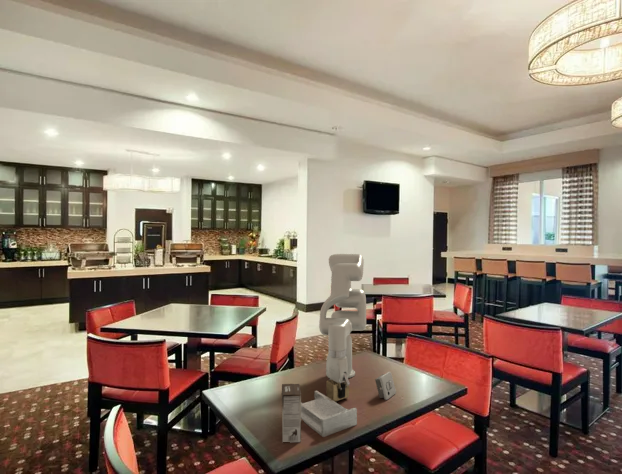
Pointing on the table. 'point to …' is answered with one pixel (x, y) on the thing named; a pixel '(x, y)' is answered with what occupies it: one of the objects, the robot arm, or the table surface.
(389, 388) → the electrical switch
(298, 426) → the coffee box
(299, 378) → the table surface
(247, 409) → the table surface
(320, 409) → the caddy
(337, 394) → the tan cardboard box
